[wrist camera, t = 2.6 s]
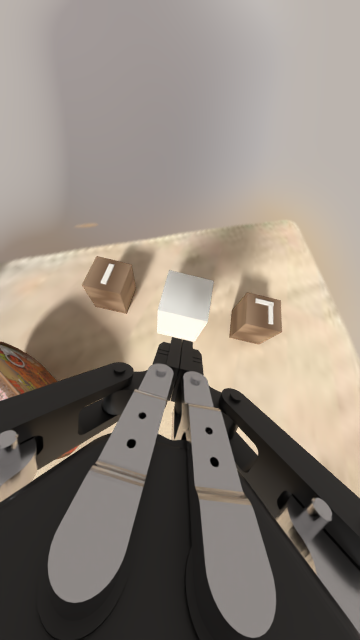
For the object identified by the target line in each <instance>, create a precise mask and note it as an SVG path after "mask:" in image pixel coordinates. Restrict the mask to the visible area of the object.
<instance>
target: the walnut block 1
mask: <svg viewBox="0 0 360 640" xmlns="http://www.w3.org/2000/svg"><path fill="white" fill-rule="evenodd" d="M82 286H83V287H84V289H85V291H86V292H87V294H88V295H89V297H90V298H91V300H92V302H93V303H94V305H95V306H96V307H100V308H105V309H109V310H113V311H117V312H122V313H126V314H127V311H128V308H129V306H130V303H131V300H132V297H133V294H134V292H135V289H136V286H135V281H134V275H133V269H132V264H127V263H123V262H119V261H115V260H111V259H107V258H102V257H98V256H97V257H96V258H95V260H94V262H93V264H92V266H91V268H90V270H89V272H88V274H87V276H86V278H85V280H84V282H83V284H82Z"/></svg>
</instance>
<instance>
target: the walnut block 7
mask: <svg viewBox="0 0 360 640" xmlns="http://www.w3.org/2000/svg"><path fill="white" fill-rule="evenodd" d="M281 332H282V323H281V300H277V299H272V298H268V297H264V296H260V295H256V294H252V293H248V292H247V294H246V295H245V296H244V297H243V298H242V299H241V301H240V302H239V303H238V304H237V305H236V306H235V308H234V309H233V310H232V314H231V325H230V337H229V338H234V339H238V340H242V341H247V342H251V343H255V344H261V343H263V342H264V341H266V340H268V339H270V338H272V337H274V336H275V335H277V334H279V333H281Z"/></svg>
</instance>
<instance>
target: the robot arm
mask: <svg viewBox="0 0 360 640" xmlns="http://www.w3.org/2000/svg"><path fill="white" fill-rule="evenodd" d="M171 395H172V396H171ZM170 398H171V401H173V402H175V406H174V409H173V413H172V440H169V439H167V438H165V437H163V436H161V435H159V434H158V430H159V427H160V423H161V419H162V416H163V412H164V408H165V407H166V404H167V401H170ZM99 399H101V400H99ZM97 400H99V401H97ZM95 401H97V402H95ZM93 402H95V403H93ZM91 403H93V404H91ZM89 404H90V405H89ZM87 405H88V406H87ZM85 406H86V407H85ZM116 422H117V424H116V426H115V428H114V430H113V432H112V433H110V434H107V435H104V436H101V437H99V438H97V439H95V440H94V441H92V442H90V443H89V444H87V445H86V446H84V447H83V448H81V449H80V450H78V451H77V452H75V453H74V454H72V455H71V456H69V457H68V458H66V459H65V460H63V461H62V462H60V463H59V464H57V465H56V466H54V467H53V468H51V469H50V470H48V471H47V472H45V473H44V474H42V475H41V476H39V477H38V478H36V479H35V480H33V478H34V476H35V474H36V472H37V470H38V469H40V468H42V467H43V466H45V465H47V464H48V463H50V462H52V461H53V460H55V459H57V458H58V457H60V456H62V455H63V454H65V453H67V452H68V451H70V450H71V449H73V448H75V447H76V446H78V445H80V444H81V443H83V442H85V441H86V440H88V439H90V438H91V437H93V436H95V435H96V434H98V433H100V432H101V431H103V430H104V429H106V428H108V427H109V426H111V425H113V424H114V423H116ZM238 427H239V428H240V429H241V430H242V431H243V432H244V433H245V434H246V435H247V436H248V437H249V438H250V440H251V441H252V442H253V443H254V444H255V445H256V447H257V449H258V455H257V454H256V453H255V452H254V451H253V450H252V449H251V448H250V447H249V446H248V444H247V443H246V442H245V441H244V440H243V439H242V438H241V437H240V436H239V434H238V433H237V432H236V430H237V428H238ZM32 480H33V481H32ZM31 481H32V482H31ZM0 640H360V498H359V497H358V496H356V495H355V494H354V493H353V492H352V491H351V490H350V489H349V488H347V487H346V486H345V485H344V484H343V483H342V482H341V481H340V480H339V479H337V478H336V477H335V476H334V475H333V474H332V473H331V472H330V471H328V470H327V469H326V468H325V467H324V466H323V465H322V464H321V463H319V462H318V461H317V460H316V459H315V458H314V457H313V456H312V455H310V454H309V453H308V452H307V451H306V450H305V449H304V448H303V447H301V446H300V445H299V444H298V443H297V442H296V441H295V440H294V439H292V438H291V437H290V436H289V435H288V434H287V433H286V432H285V431H283V430H282V429H281V428H280V427H279V426H278V425H277V424H276V423H274V422H273V421H272V420H271V419H270V418H269V417H268V416H267V415H265V414H264V413H263V412H262V411H261V410H260V409H259V408H258V407H256V406H255V405H254V404H253V403H252V402H251V401H250V400H249V399H248V398H246V397H245V396H244V395H243V394H242V393H240V392H239V391H237V390H235V389H231V388H227V389H224V390H223V391H222V393H221V392H219V391H217V390H215V389H213V388H211V387H210V386H209V385H208V381H207V379H206V378H205V377H204V376H203V365H202V355H201V353H200V352H199V351H198V350H195V349H193V342H191V341H187V340H182V339H178V338H174V337H172V340H171V344H170V343H166V342H163V343H161V344H160V345H159V347H158V350H157V353H156V356H155V359H154V362H153V365H151V366H150V367H149V369H148V370H146V371H143V372H134V371H133V368H132V367H131V366H130V365H128V364H126V363H120V362H118V363H112V364H109V365H106V366H103V367H100V368H97V369H94V370H91V371H88V372H85V373H82V374H79V375H76V376H73V377H70V378H67V379H64V380H61V381H58V382H55V383H52V384H49V385H46V386H43V387H40V388H37V389H34V390H31V391H28V392H25V393H22V394H19V395H16V396H13V397H10V398H7V399H4V400H1V401H0Z"/></svg>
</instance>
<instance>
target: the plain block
mask: <svg viewBox="0 0 360 640" xmlns="http://www.w3.org/2000/svg"><path fill="white" fill-rule="evenodd" d="M213 283H214V281H212V280H208V279H204V278H200V277H196V276H192V275H188V274H184V273H179V272H175V271H171V270H169V272H168V276H167V279H166V283H165V286H164V290H163V293H162V297H161V301H160V304H159V308H158V322H157V333H160V334H164V335H168V336H173V337H177V338H182V339H186V340H190V341H195V340H196V339H197V337H198V336H199V334H200V333H201V331H202V330H203V328H204V327H205V325H206V324H207V322H208V317H209V310H210V303H211V296H212V289H213Z"/></svg>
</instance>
